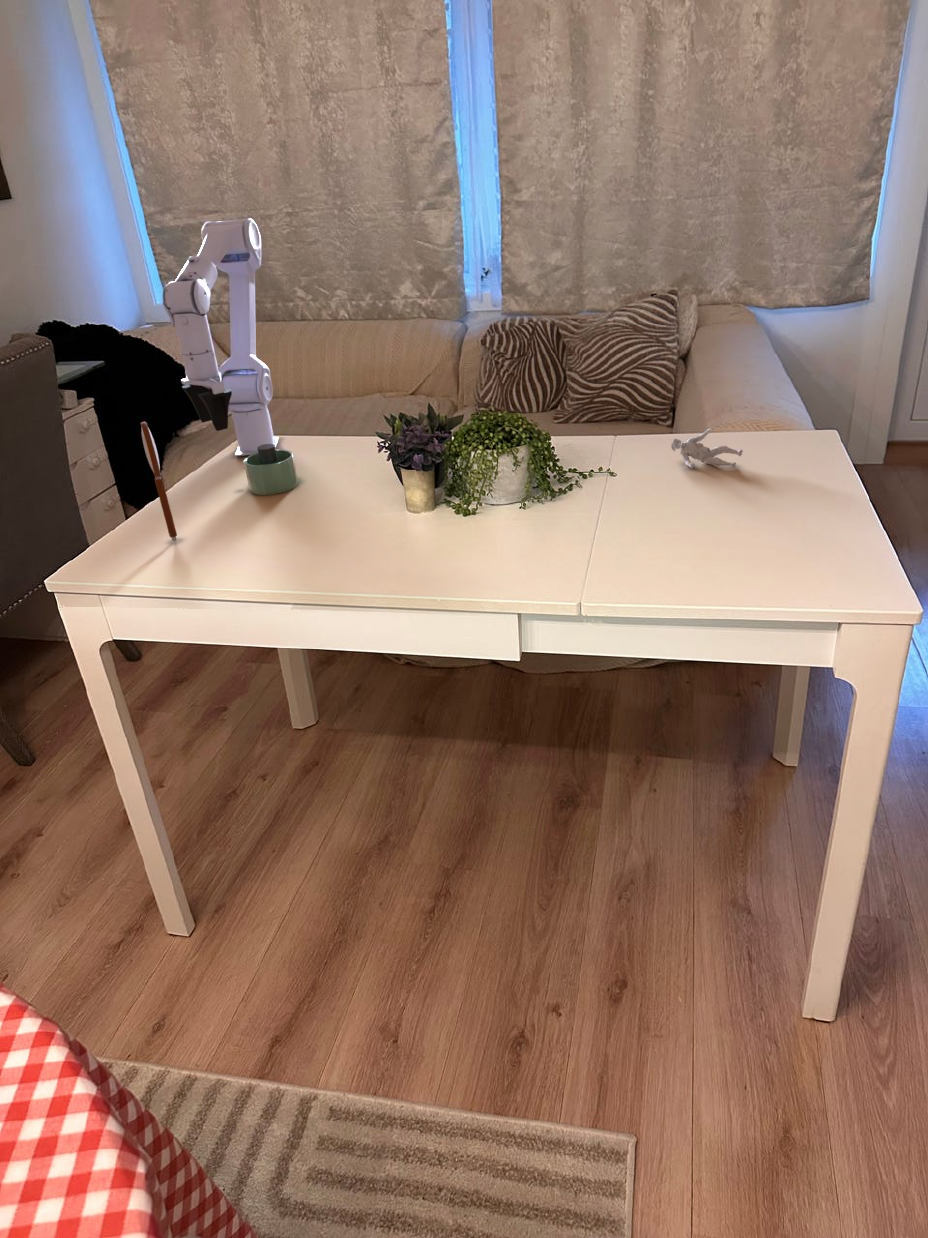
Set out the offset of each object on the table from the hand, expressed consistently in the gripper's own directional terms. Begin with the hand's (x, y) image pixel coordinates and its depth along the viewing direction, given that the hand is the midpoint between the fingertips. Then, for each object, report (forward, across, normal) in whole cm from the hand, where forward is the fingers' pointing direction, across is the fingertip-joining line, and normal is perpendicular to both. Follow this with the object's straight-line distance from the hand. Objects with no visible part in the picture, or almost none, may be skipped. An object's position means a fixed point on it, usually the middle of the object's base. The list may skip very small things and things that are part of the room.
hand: (214, 425), depth 170 cm
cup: (+10, +12, +5) cm, 16 cm away
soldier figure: (+11, +61, +65) cm, 90 cm away
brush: (+10, +12, +5) cm, 16 cm away
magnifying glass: (+11, +23, -18) cm, 31 cm away
